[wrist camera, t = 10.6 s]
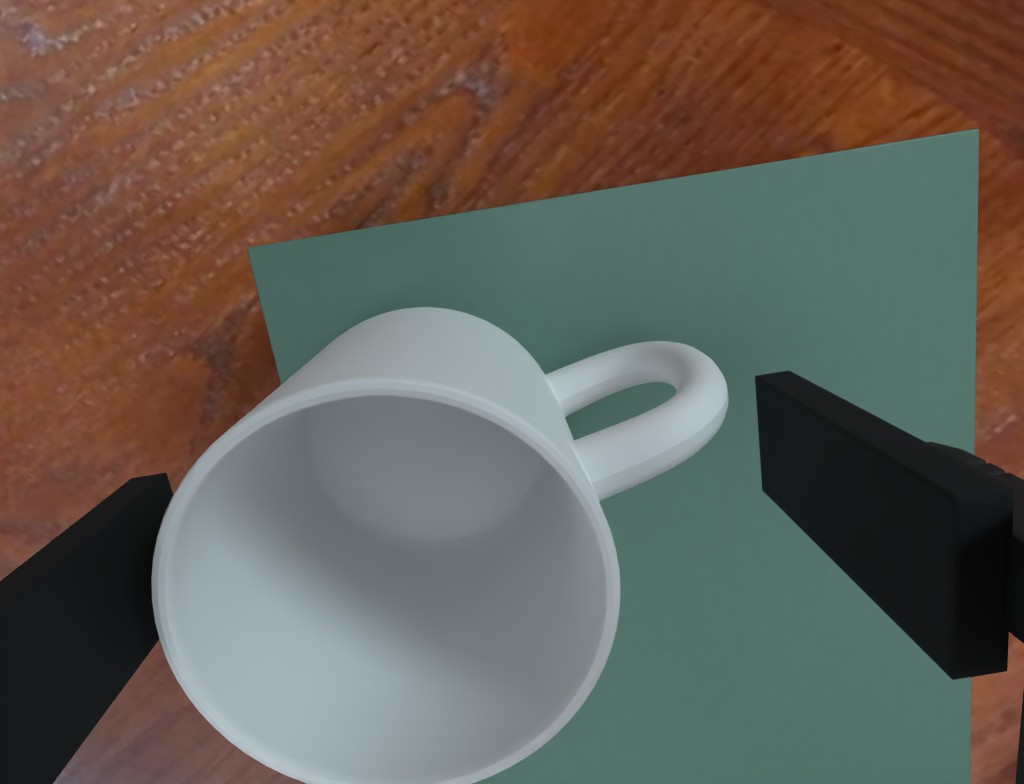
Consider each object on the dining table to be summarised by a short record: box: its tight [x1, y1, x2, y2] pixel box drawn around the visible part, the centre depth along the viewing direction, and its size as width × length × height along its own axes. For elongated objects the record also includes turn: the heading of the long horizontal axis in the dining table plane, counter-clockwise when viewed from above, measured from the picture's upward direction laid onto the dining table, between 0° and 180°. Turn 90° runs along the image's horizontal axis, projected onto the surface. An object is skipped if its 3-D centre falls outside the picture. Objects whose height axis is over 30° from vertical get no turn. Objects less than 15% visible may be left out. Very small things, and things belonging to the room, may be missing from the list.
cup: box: [151, 307, 729, 784], centre depth 17 cm, size 8×12×10 cm
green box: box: [247, 129, 979, 784], centre depth 27 cm, size 26×22×11 cm
